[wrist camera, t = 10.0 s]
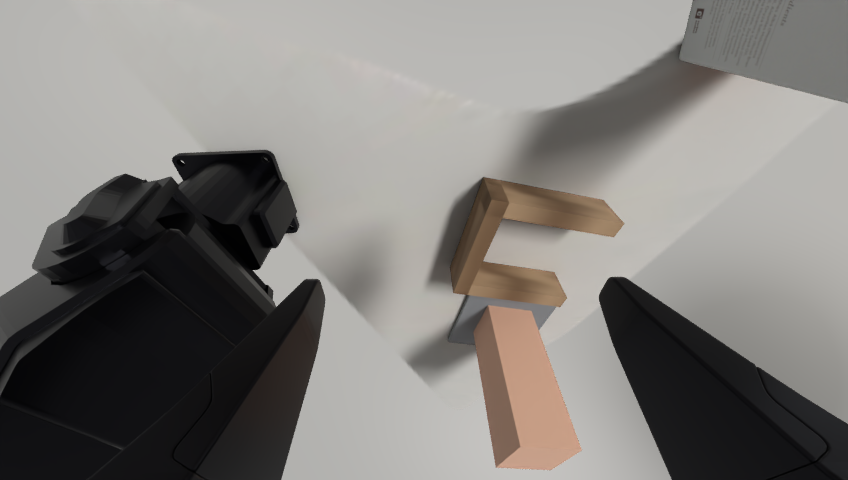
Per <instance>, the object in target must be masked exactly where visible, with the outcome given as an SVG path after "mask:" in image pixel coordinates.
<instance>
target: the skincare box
mask: <svg viewBox="0 0 848 480" xmlns="http://www.w3.org/2000/svg"><path fill="white" fill-rule="evenodd" d="M679 59H680V60H681V61H685V62H689V63H692V64H696V65H700V66H704V67H708V68H712V69H716V70H720V71H724V72H728V73H732V74H736V75H740V76H743V77H747V78H751V79H755V80H758V81H762V82H766V83H770V84H774V85H778V86H782V87H786V88H790V89H794V90H798V91H802V92H806V93H810V94H813V95H817V96H821V97H825V98H829V99H833V100H837V101H841V102H845V103H848V0H693V3H692V7H691V11H690V15H689V19H688V23H687V28H686V32H685V35H684V39H683V43H682V47H681V51H680V55H679Z"/></svg>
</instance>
